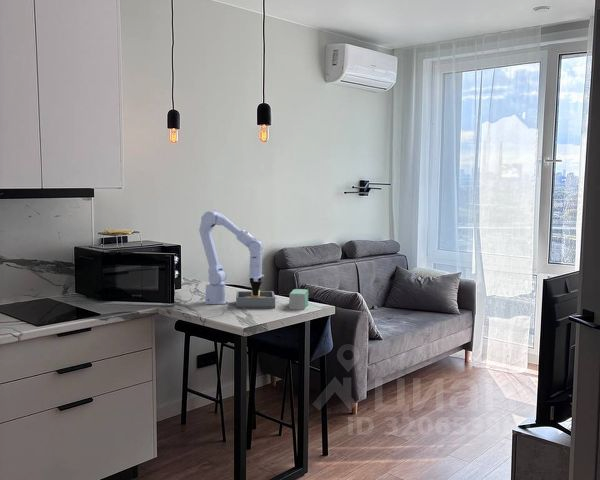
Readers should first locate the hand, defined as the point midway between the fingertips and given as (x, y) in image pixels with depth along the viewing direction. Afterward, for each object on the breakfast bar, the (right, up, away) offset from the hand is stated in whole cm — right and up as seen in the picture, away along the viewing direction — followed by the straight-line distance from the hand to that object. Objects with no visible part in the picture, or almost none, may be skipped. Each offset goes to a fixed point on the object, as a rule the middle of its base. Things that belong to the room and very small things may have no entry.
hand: (255, 294), depth 287 cm
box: (+21, -6, -1) cm, 22 cm away
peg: (0, -4, 0) cm, 4 cm away
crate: (0, -5, +1) cm, 5 cm away
